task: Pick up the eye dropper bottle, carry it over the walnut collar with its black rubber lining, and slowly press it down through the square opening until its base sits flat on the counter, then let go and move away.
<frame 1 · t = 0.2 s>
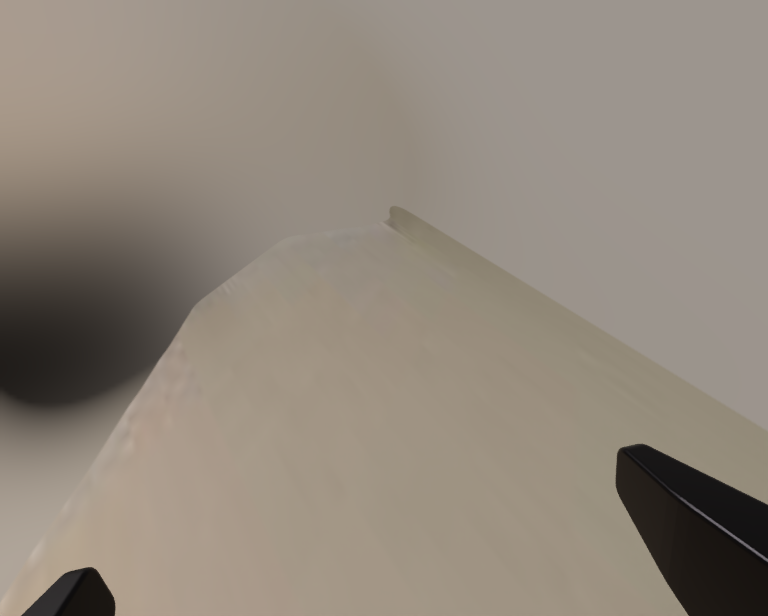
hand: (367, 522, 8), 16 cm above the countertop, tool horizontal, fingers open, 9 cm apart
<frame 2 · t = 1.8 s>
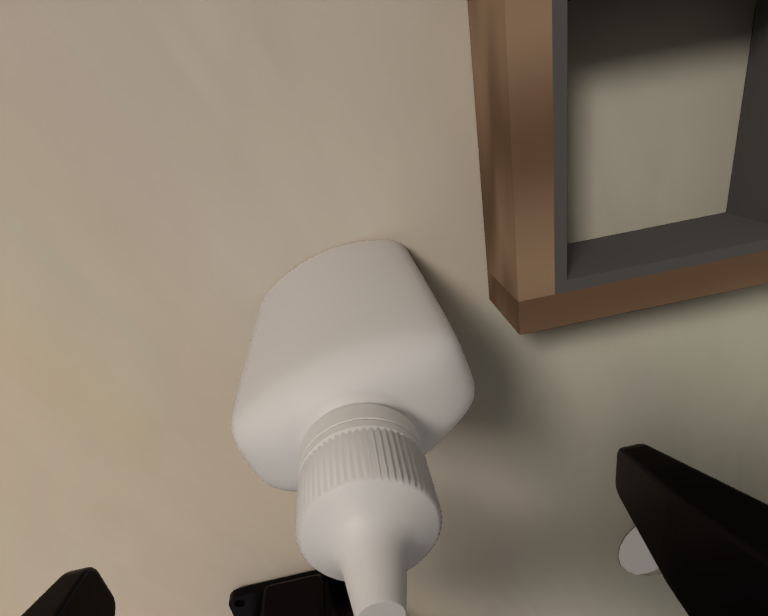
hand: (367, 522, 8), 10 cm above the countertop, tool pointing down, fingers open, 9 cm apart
rubber-lined collar: (634, 122, 16), on the countertop
wineglass: (660, 540, 26), on the countertop
eye dropper bottle: (340, 289, 18), on the countertop
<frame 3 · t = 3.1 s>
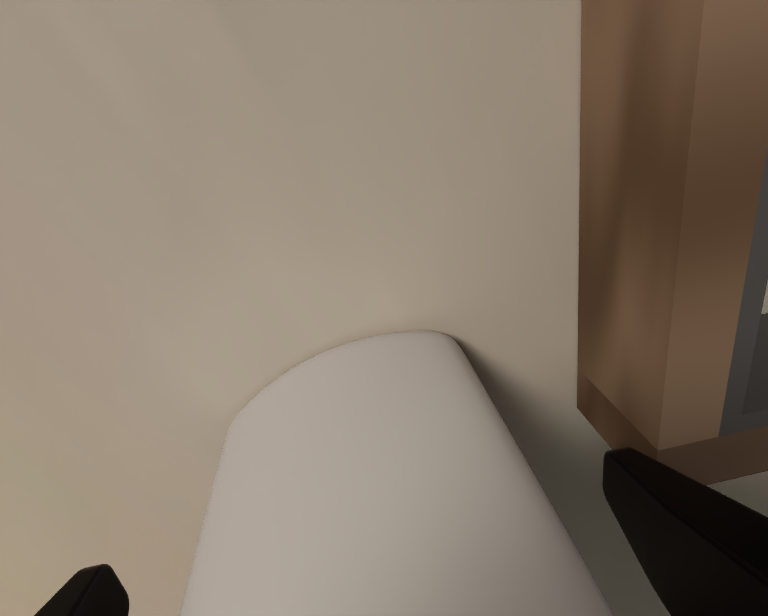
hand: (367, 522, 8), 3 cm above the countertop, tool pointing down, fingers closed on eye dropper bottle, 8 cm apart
eye dropper bottle: (353, 400, 11), on the countertop, touching gripper
when the fingers open (5 cm above the countertop, at t = 8.2 s): eye dropper bottle drops 1 cm, resting in rubber-lined collar.
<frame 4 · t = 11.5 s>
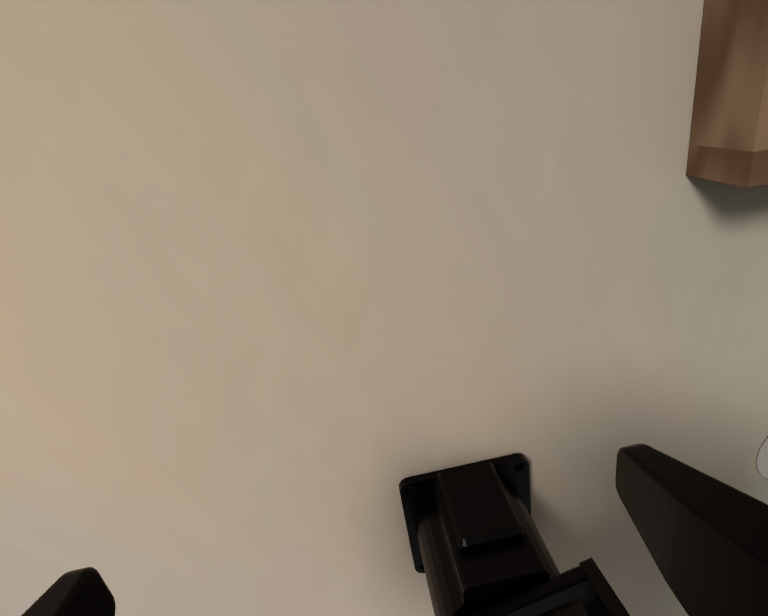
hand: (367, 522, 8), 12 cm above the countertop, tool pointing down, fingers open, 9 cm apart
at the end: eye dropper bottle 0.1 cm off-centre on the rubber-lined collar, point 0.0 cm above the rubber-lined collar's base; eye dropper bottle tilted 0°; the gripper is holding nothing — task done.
